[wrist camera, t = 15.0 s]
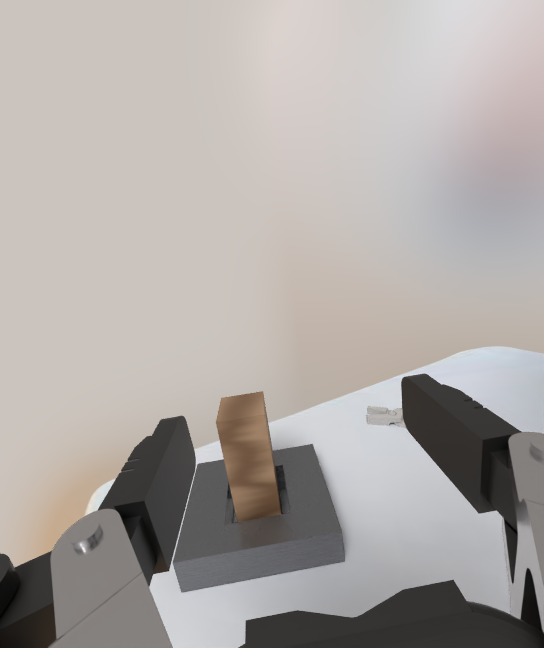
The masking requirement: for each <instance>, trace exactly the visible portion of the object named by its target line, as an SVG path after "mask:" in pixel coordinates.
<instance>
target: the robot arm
mask: <svg viewBox="0 0 544 648" xmlns="http://www.w3.org/2000/svg"><path fill="white" fill-rule="evenodd" d="M401 387H402V413H403V420H404V423H405V426H406V428H407V430H408V431H409V433H410V434H411V435H412V436H413V437H414V438H415V440H416V441H417V442H418V443H419V444H420V445H421V447H422V448H423V449H424V450H425V451H426V452H427V454H428V455H429V456H430V457H431V458H432V459H433V461H434V462H435V463H436V464H437V465H438V466H439V468H440V469H441V470H442V471H443V472H444V473H445V475H446V476H447V477H448V478H449V479H450V480H451V482H452V483H453V484H454V485H455V486H456V487H457V489H458V490H459V491H460V492H461V493H462V494H463V495H464V497H465V498H466V499H467V500H468V501H469V502H470V504H471V505H472V506H473V507H474V508H475V509H476V511H477V512H478V513H479V514H480V513H485V512H490V511H495V510H497V511H498V512H499V513H500V514H501V516H502V532H503V541H504V550H505V559H506V568H507V577H508V586H509V595H510V614H508V613H506V612H503V611H501V610H498V609H495V608H493V607H490V606H487V605H483V604H479V603H475V602H469V601H466V600H465V598H464V596H463V595H462V593H461V592H460V590H459V588H458V587H457V585H456V583H455V582H454V580H450V581H445V582H440V583H435V584H430V585H425V586H420V587H415V588H409V589H404V590H402V591H400V592H399V593H397V594H395V595H394V596H392V597H390V598H389V599H387V600H385V601H384V602H382V603H380V604H379V605H377V606H375V607H374V608H372V609H370V610H369V611H367V612H365V613H364V614H362V615H360V616H358V617H354V618H351V617H342V616H335V615H328V614H320V613H313V612H305V611H298V610H297V611H292V612H287V613H282V614H277V615H272V616H267V617H261V618H256V619H251V620H246V639H245V644H244V645H242V646H240V647H239V648H544V434H541V433H535V432H521V431H519V430H518V429H516V428H515V427H513V426H512V425H510V424H509V423H507V422H506V421H504V420H503V419H502V418H500V417H499V416H497V415H496V414H494V413H493V412H491V411H490V410H488V409H487V408H483V406H482V405H481V404H479V403H478V402H476V401H473V400H472V398H471V397H469V396H468V395H466V394H465V393H463V392H462V391H460V390H458V389H455V388H452V387H450V386H447V385H444V384H443V385H441V384H440V383H438V382H437V381H436V380H434V379H433V378H431V377H430V376H429V375H427V374H419V375H413V376H408V377H404V378H403V379H402V382H401ZM195 465H196V459H195V452H194V448H193V444H192V441H191V437H190V433H189V430H188V426H187V422H186V419H185V418H184V416H178V417H173V418H167V419H162V420H160V422H159V424H158V425H157V428H156V429H155V431H154V433H153V435H152V436H147V437H146V438H145V439H144V440H143V441H142V442H140V443H139V445H137V446H136V447H135V448H134V450H133V452H132V453H131V455H130V457H129V458H128V462H126V463H125V465H124V467H123V468H122V470H121V471H122V472H121V473H119V475H118V477H117V478H116V480H115V482H114V483H113V485H112V487H111V489H110V490H109V492H108V494H107V495H106V497H105V499H104V500H103V502H102V504H101V505H100V507H99V509H98V510H97V511H95V512H93V513H90V514H88V515H86V516H85V517H83V518H81V519H80V520H78V521H77V522H76V523H74V524H73V525H72V526H71V527H70V528H69V529H67V530H66V532H65V533H64V534H63V535H62V536H61V537H60V539H59V540H58V541H57V543H56V544H55V546H54V549H53V550H52V551H51V552H48V553H46V554H44V555H42V556H39V557H37V558H35V559H33V560H30V561H28V562H26V563H24V564H21V565H20V566H17V567H15V568H14V566H13V564H12V563H11V561H10V559H9V557H8V556H7V555H5V554H0V648H173V647H172V644H171V642H170V639H169V637H168V634H167V632H166V629H165V627H164V624H163V622H162V619H161V617H160V614H159V612H158V609H157V607H156V604H155V602H154V599H153V597H152V594H151V592H150V589H149V586H150V583H151V579H152V576H153V574H156V573H161V572H167V571H169V568H170V565H171V561H172V557H173V553H174V549H175V545H176V541H177V538H178V534H179V530H180V526H181V522H182V518H183V514H184V511H185V507H186V503H187V499H188V495H189V491H190V488H191V484H192V480H193V476H194V472H195Z"/></svg>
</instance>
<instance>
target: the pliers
mask: <svg viewBox="0 0 544 648" xmlns="http://www.w3.org/2000/svg"><path fill="white" fill-rule="evenodd" d="M367 412H368V414H370V415H366V416H367V424H371V425H387V426H389V424H390V423H394V424H395V425H397V426H399V427H404V428H406V426H405V423H404V420H403V419H402V418H403V413H402V408H397V409H395V410H393V411H392V410H391V411H389V410H388V408H382V407H372V406H368V408H367Z"/></svg>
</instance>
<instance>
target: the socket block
mask: <svg viewBox="0 0 544 648" xmlns="http://www.w3.org/2000/svg"><path fill="white" fill-rule="evenodd" d="M273 457H274V463H275V469H276V475H277V481H278V487H279V490H282V489H287V495H288V501H289V507H290V513H286V514H281V515H275V516H270V517H264V518H259V519H254V520H248V521H243V522H237V523H233V509H234V504H233V499H232V495H231V490H230V485H229V480H228V476H227V471H226V466H225V462H224V460H218V461H212V462H206V463H201V464H198V465H197V469H196V473H195V477H194V481H193V485H192V489H191V493H190V497H189V501H188V505H187V509H186V513H185V517H184V521H183V525H182V529H181V533H180V537H179V540H178V544H177V548H176V552H175V556H174V560H173V565H174V569H175V572H176V575H177V579H178V582H179V586H180V589H181V592H187V591H192V590H197V589H202V588H208V587H213V586H218V585H223V584H229V583H234V582H239V581H244V580H249V579H255V578H260V577H265V576H270V575H276V574H281V573H286V572H291V571H296V570H302V569H307V568H312V567H317V566H323V565H328V564H333V563H338V562H344V561H345V558H344V548H343V538H342V531H341V528H340V525H339V522H338V519H337V516H336V513H335V510H334V507H333V504H332V501H331V498H330V495H329V492H328V489H327V486H326V483H325V480H324V477H323V474H322V471H321V468H320V465H319V462H318V459H317V456H316V453H315V450H314V447H313V444H310V445H304V446H299V447H293V448H287V449H281V450H276V451H273Z"/></svg>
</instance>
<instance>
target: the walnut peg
mask: <svg viewBox="0 0 544 648" xmlns="http://www.w3.org/2000/svg"><path fill="white" fill-rule="evenodd" d="M216 424H217V429H218V434H219V438H220V443H221V448H222V452H223V457H224V462H225V466H226V471H227V476H228V480H229V485H230V490H231V495H232V499H233V504H234V509H235V513H236V518H237V522H243V521H248V520H254V519H259V518H264V517H270V516H275V515H281V514H282V509H281V501H280V493H279V487H278V481H277V475H276V469H275V463H274V457H273V450H272V444H271V438H270V432H269V426H268V420H267V414H266V407H265V402H264V395H263V392H256V393H250V394H244V395H238V396H231V397H225V398H221V402H220V407H219V411H218V416H217V421H216Z"/></svg>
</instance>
